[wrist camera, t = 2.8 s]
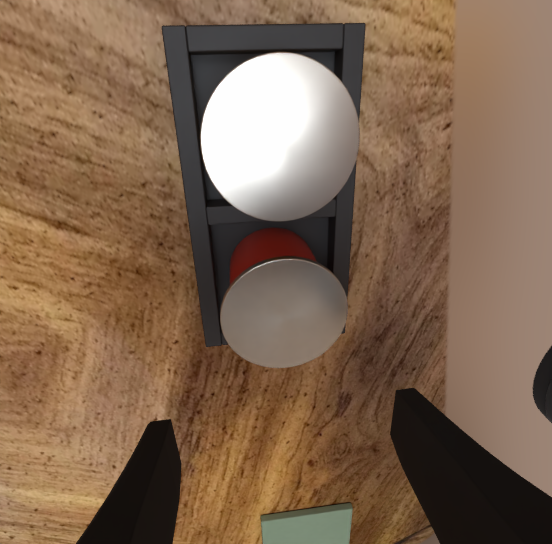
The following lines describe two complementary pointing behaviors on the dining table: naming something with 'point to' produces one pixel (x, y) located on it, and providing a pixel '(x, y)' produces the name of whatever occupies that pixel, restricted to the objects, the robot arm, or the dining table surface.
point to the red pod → (280, 301)
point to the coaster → (309, 526)
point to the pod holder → (197, 185)
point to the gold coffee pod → (279, 136)
